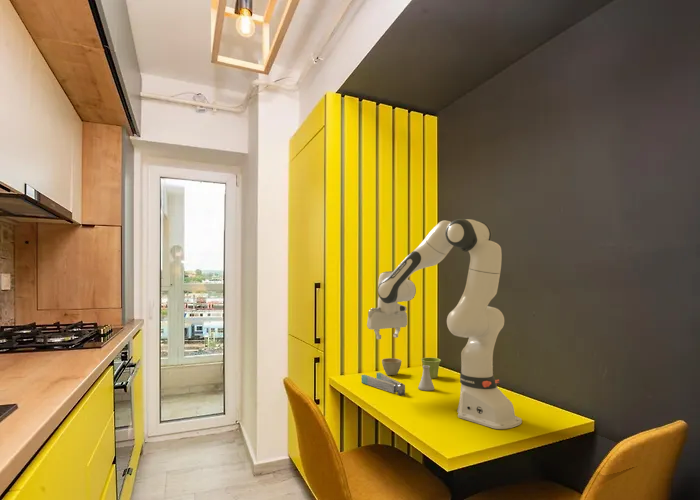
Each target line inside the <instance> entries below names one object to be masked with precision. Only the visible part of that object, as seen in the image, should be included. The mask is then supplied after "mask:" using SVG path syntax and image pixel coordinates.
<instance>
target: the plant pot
mask: <svg viewBox="0 0 700 500" xmlns="http://www.w3.org/2000/svg"><path fill="white" fill-rule="evenodd" d="M441 361H442V360H441V359H440V358H437V357H423V358H421V362H422V367H423V366H430V368H429V373H430V377H431V380H432V379H438V375H439V369H440V363H441Z"/></svg>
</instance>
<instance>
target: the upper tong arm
mask: <svg viewBox="0 0 700 500" xmlns="http://www.w3.org/2000/svg"><path fill="white" fill-rule="evenodd" d="M361 384H364V385H367V386H370V387H374V388H377V389H380V390H383V391H386V392H389V393H392V394H396V393H397V391H396V384H393V383H390V382H387V381H383V380H380V379H377V377H376V378H375V377H374V376H370V375H366V374H361Z"/></svg>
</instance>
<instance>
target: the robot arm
mask: <svg viewBox="0 0 700 500" xmlns="http://www.w3.org/2000/svg"><path fill="white" fill-rule="evenodd" d="M492 239H493V231H492V229H491V227H490V226H489V225H488V224H487V223H485V222H483V221H478V220H475V219H468V218H467V219H466V218H458V219H454V220H452V221H450V220H444V219H443V220H441V221H439V222H438V223H437V224H435V226H433V228H432V229H431V230H430V231H429V232H428V234H427V235H426V236H425V237H424V239H423V240H422V241H421V242H420V243H419V245H418V246H416V248H415V249H414V250H413V251H411V253H409V254H407V256H406V257H405V258H404V259H403V260H402V261H401V262H400V263H399V264H398V266H396V268H395V269H394V270H393V271H392V270H391V271H384V272H381V273H380V274H379V277H378V280H377V281H378V282H377V294H378V298H377V307H371V308H370V309H369V310H368V312H367V323H366V326H367V328H368V329H369V330H373V332H374V333H375V336H376V337H375V338H376V340H382V335H381V334H380V330H381V329H382V330H383V329H393V328H394V329H395V331H394V333H393V334H392V335H393V336H392V337H393V338H395V339H396V338H399V334H400V332H401V328H406V327H407V326H408V314H407V312H406V311H407V310H408V309H407V306H405V305H402V304H399V303H401V302H408V301H411V300H413V299H414V298H415V296H416V294H417V287H416V285H415V283H414V282H413V281H412V280H410V279H409V278H410V276H411V275H413V274H414V273H415V272H417V271H419V270H422V269H425V268H429V267H433V266H437V265H438V264H439V263H441V262H442V261H443V260H444V259H445V258H446V257H447V255H448V254H449V253H450V252H451V250H452V249H453V247H455V248H457V249H459V250H461V251H462V252H463V253H464V252H468V253H469V257H470V260H469V266H468V273H467V277H466V283H465V287H464V291H463V293H462V295H461V297H460V299H459V301H458V303H457V305H456V306H455V307H454V308H453V309H452V310H451V311H450V312H449V313H448V315H447V316H446V317H447V318H446V325H447V328H448V331H449V332H450V333H451V334H452V335H453V336H455V337H459V338H466V339H467V338H468V339H467V343H466V344H465V346H464V347H463V348H462V350H461V353H460V358H461V359H460V360H461V361H460V364H461V365H460V367H461V368H460V369H461V371H460V373H459V379H460V380H459V382H460V385H461V386H460V396H459V402H458V406H457V412H456V413H458V414H457V417H458V418H460V419H462V420H466V421H469V422H472V423H474V424H478V425H481V426H485V427H488V428H492V429H494V430H507V429H512V428H514V427H518V426H520V425H521V424H522V422H523V421H522V420H523V419H522V418H521V417H518V416H517V415H516V414H515V408H514V405H513V403H512V401H510V399H509V398H508V397H507V396H506V395H505V394H504V392H502V390H500V389H499V388H498V383H500V379H496V378H495V376H494V374H493V373H494V371H493V369H494V368H493V367H494V365H493V363H494V361H493V357H494V349H495V345H496V342H497V338H498V336H499V333H500V332H501V330H502V329H503V328H504V326H505V316H504V314H503V312H502V311H501V310H500V309H499V308H497V307H494V306H489V304H490V303H491V301H492V300H493V299H494V298H495V297H496V296H497V293H498V289H499V284H500V283H499V282H500V276H501V269H502V257H503V256H502V247H501V246H500V244H499V243H497V242H495V241H492Z"/></svg>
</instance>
